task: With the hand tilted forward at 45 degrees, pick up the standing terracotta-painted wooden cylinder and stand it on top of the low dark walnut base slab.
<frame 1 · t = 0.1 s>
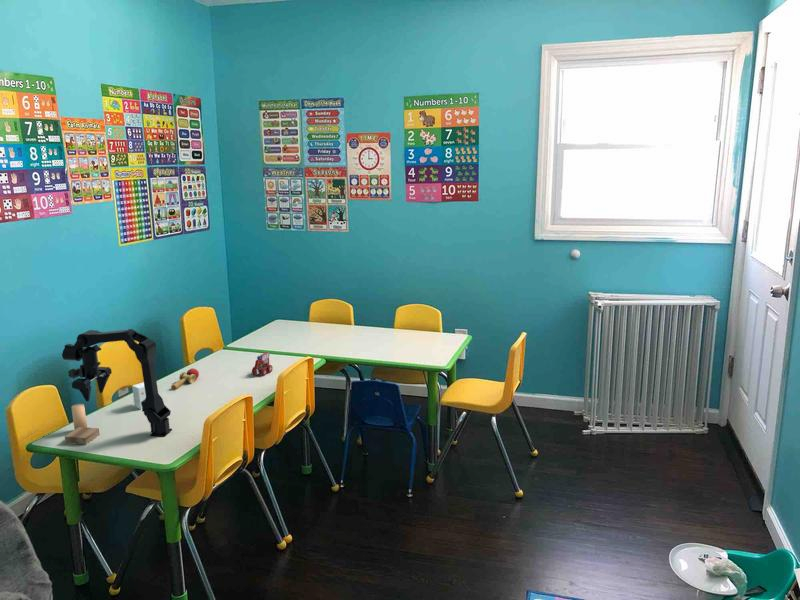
hand: (94, 396, 264), 15 cm above the table, tool pointing down, fingers open, 9 cm apart
base slab: (82, 439, 259), on the table
toy fire truck: (262, 373, 332), on the table
cylinder block: (81, 430, 267), on the table
small box: (145, 406, 292), on the table
kendama: (185, 384, 319), on the table
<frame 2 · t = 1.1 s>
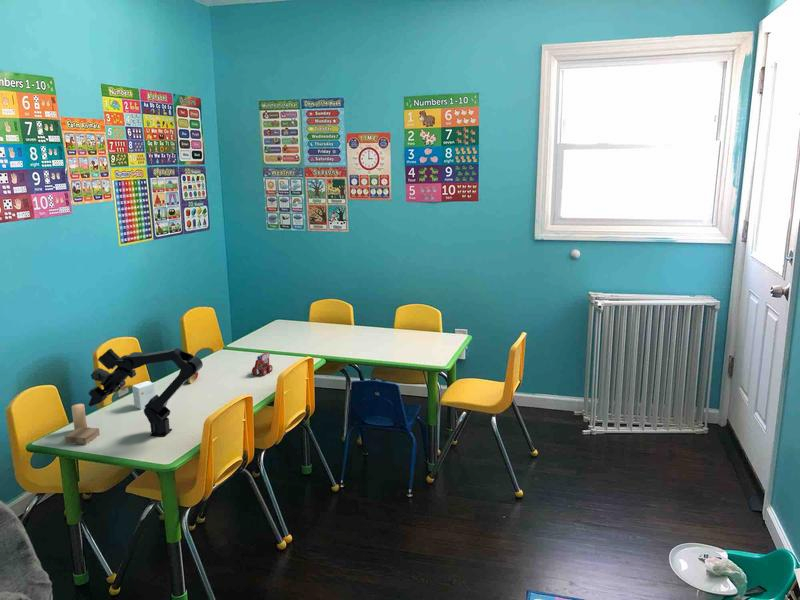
hand: (95, 401, 263), 13 cm above the table, tool tilted 45°, fingers open, 9 cm apart
nothing on the table moved.
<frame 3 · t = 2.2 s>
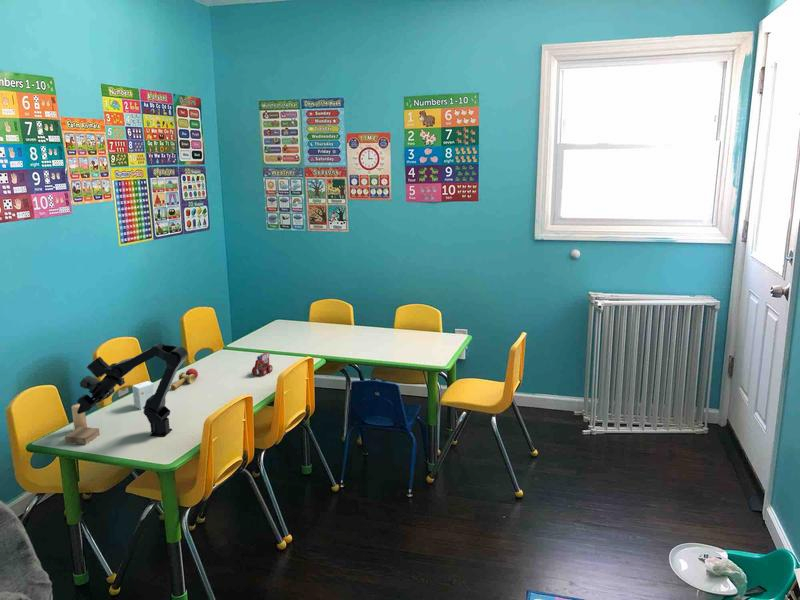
hand: (84, 408, 264), 10 cm above the table, tool tilted 45°, fingers open, 9 cm apart
nothing on the table moved.
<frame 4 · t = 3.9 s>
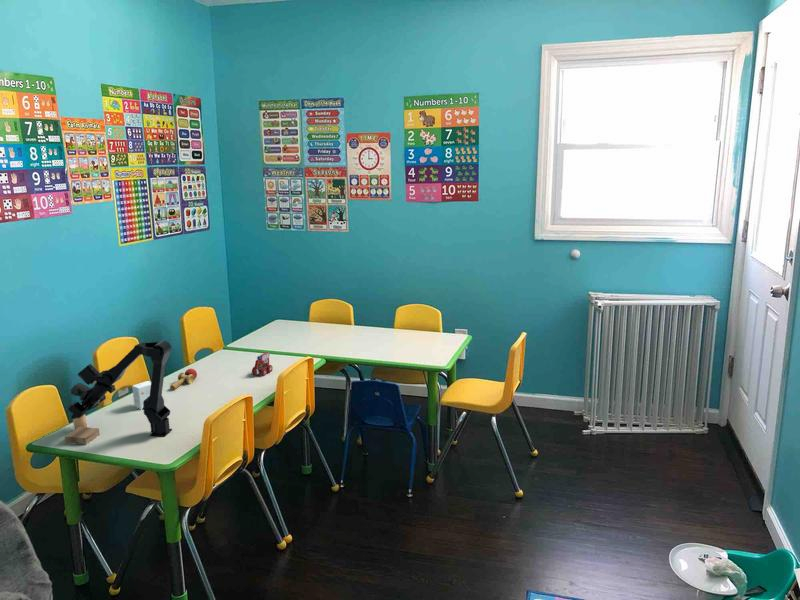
hand: (75, 415, 266), 7 cm above the table, tool tilted 45°, fingers closed on cylinder block, 5 cm apart
cylinder block: (81, 430, 267), on the table, touching gripper
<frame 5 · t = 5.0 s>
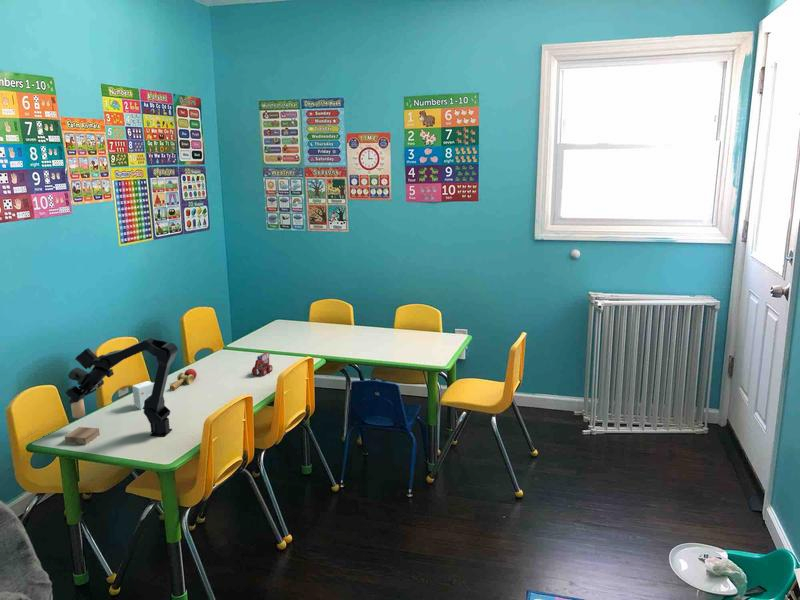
hand: (73, 400, 264), 13 cm above the table, tool tilted 45°, fingers closed on cylinder block, 5 cm apart
cylinder block: (79, 415, 265), point 7 cm above the table, touching gripper
when the fingers open (11 cm above the table, at t = 6.5 s): cylinder block drops 1 cm, resting on base slab.
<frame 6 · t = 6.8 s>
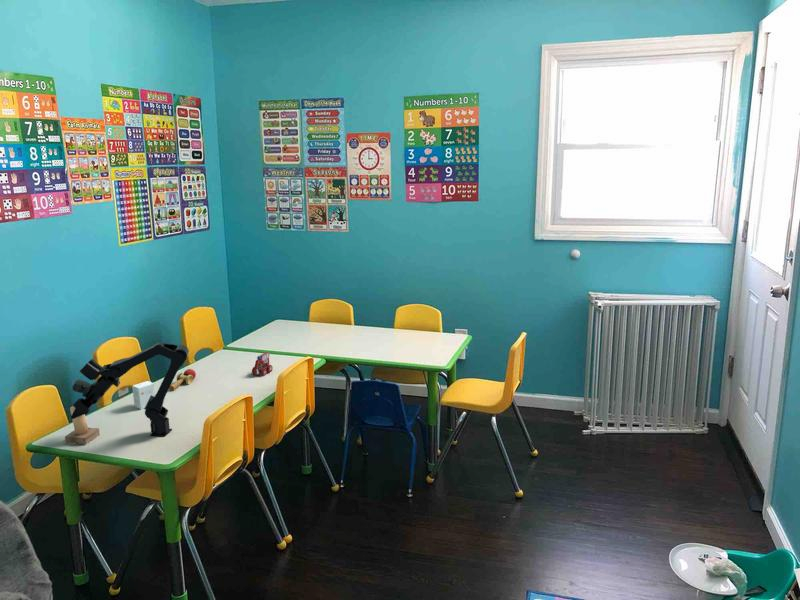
hand: (75, 413, 256), 11 cm above the table, tool tilted 45°, fingers open, 8 cm apart
cylinder block: (82, 431, 258), point 3 cm above the table, touching base slab
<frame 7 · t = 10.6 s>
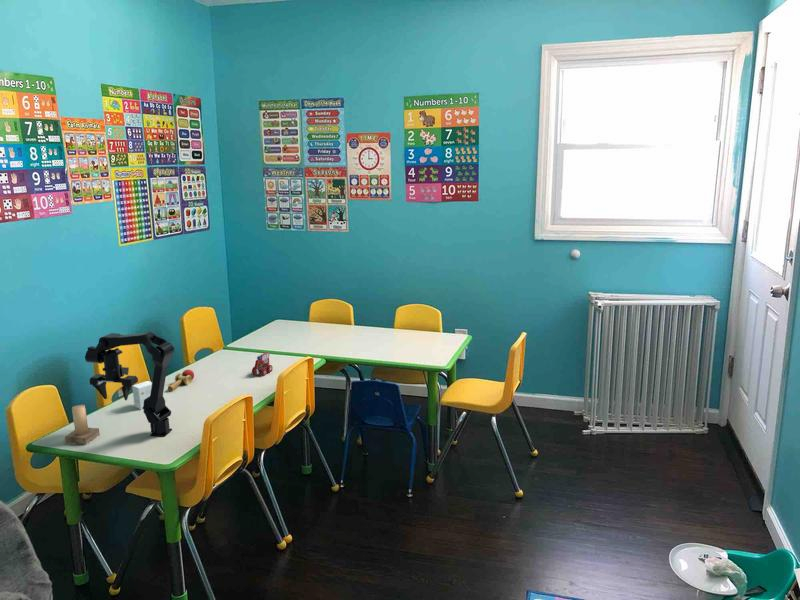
hand: (116, 399, 266), 13 cm above the table, tool pointing down, fingers open, 9 cm apart
at the end: cylinder block inside the target area on the base slab (0.1 cm from its centre), point 3.0 cm above the base slab's base; cylinder block tilted 0°; the gripper is holding nothing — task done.
